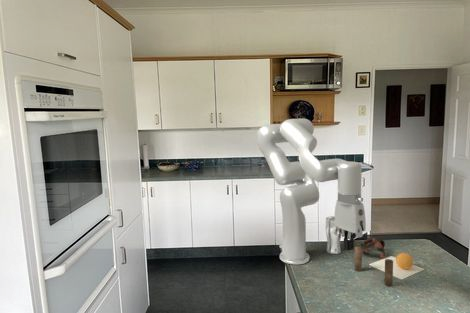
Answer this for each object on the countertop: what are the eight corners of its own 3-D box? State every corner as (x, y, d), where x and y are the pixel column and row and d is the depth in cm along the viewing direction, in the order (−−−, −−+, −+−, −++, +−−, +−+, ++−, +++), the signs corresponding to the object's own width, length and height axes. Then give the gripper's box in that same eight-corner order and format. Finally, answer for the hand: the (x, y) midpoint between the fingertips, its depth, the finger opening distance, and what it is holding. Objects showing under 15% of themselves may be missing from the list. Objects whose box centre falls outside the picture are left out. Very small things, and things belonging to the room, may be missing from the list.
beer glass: (342, 254, 138) (343, 221, 136) (326, 254, 140) (326, 221, 138) (340, 248, 145) (341, 216, 143) (324, 247, 147) (325, 215, 145)
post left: (353, 269, 125) (353, 247, 124) (357, 267, 127) (357, 246, 126) (358, 272, 123) (358, 249, 122) (363, 270, 124) (363, 248, 123)
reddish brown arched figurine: (381, 264, 130) (370, 245, 131) (363, 265, 138) (353, 248, 139) (395, 248, 137) (385, 231, 138) (377, 251, 145) (367, 235, 146)
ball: (405, 258, 129) (397, 269, 127) (398, 248, 127) (390, 259, 126) (419, 262, 124) (411, 274, 122) (412, 252, 122) (403, 264, 120)
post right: (382, 284, 114) (383, 260, 113) (387, 282, 115) (388, 258, 114) (389, 287, 112) (390, 263, 111) (394, 285, 113) (394, 261, 112)
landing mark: (369, 264, 129) (369, 264, 129) (391, 256, 135) (391, 255, 135) (401, 279, 117) (401, 279, 117) (424, 269, 123) (424, 269, 123)
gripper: (375, 200, 104) (374, 254, 107) (340, 192, 117) (339, 239, 119) (359, 204, 101) (358, 260, 103) (325, 195, 113) (324, 244, 116)
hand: (348, 249), depth 111 cm, fingers closed
